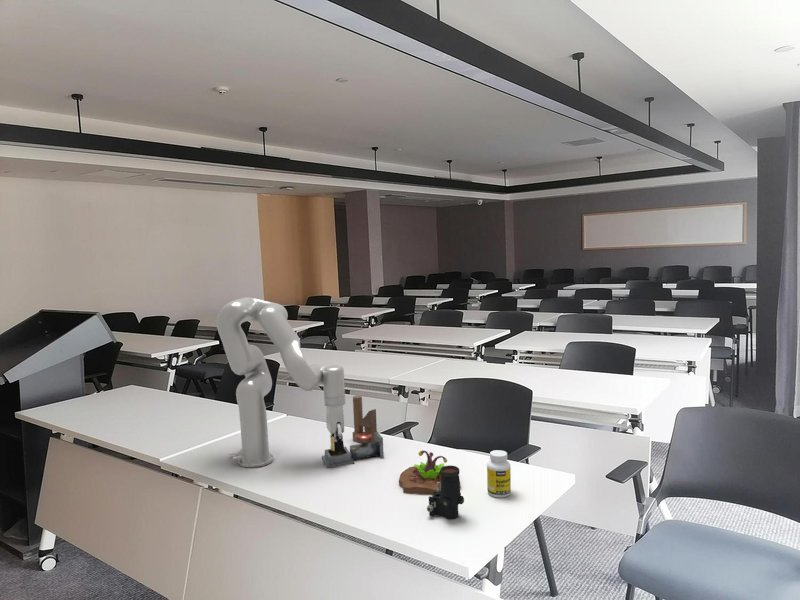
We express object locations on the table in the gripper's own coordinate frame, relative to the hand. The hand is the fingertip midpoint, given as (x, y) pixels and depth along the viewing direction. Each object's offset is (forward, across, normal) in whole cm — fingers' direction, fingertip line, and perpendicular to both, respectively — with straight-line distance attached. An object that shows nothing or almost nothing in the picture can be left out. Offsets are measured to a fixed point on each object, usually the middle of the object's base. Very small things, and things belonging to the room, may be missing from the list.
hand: (337, 448), depth 208 cm
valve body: (+5, 0, +6) cm, 7 cm away
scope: (+5, +53, +21) cm, 57 cm away
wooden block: (+5, -15, +14) cm, 21 cm away
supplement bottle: (+5, +46, +41) cm, 62 cm away
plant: (+6, +30, +24) cm, 39 cm away
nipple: (+4, 0, 0) cm, 4 cm away
